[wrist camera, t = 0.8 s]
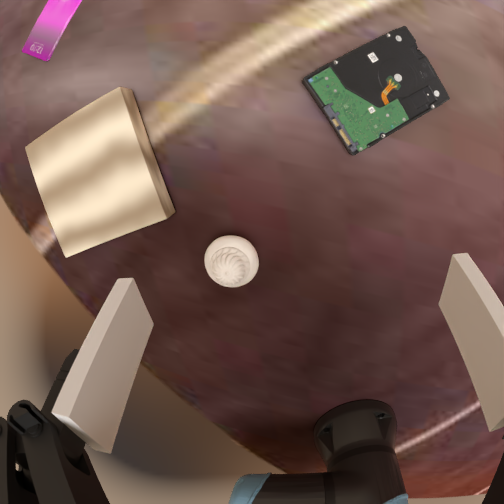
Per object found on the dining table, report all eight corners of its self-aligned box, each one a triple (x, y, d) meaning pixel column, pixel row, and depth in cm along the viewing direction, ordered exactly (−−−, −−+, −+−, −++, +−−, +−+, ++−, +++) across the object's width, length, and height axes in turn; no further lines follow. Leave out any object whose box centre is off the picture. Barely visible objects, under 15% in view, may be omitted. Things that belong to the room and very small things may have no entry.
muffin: (241, 282, 41) (235, 311, 34) (201, 256, 40) (187, 280, 33) (270, 245, 39) (269, 268, 32) (228, 216, 38) (217, 234, 31)
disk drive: (396, 29, 29) (299, 82, 32) (404, 23, 26) (301, 78, 30) (441, 100, 31) (350, 156, 35) (451, 98, 29) (356, 158, 32)
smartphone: (103, -26, 27) (100, -29, 26) (49, 62, 32) (46, 61, 31) (72, -31, 26) (69, -33, 26) (23, 51, 31) (19, 51, 30)
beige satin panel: (177, 210, 38) (166, 218, 34) (81, 247, 41) (65, 257, 37) (134, 90, 33) (119, 86, 29) (42, 144, 36) (25, 147, 32)
